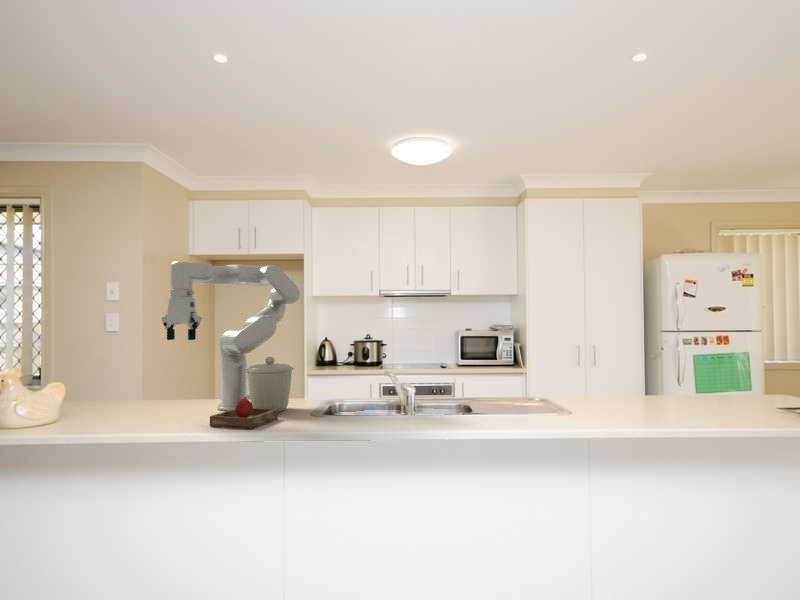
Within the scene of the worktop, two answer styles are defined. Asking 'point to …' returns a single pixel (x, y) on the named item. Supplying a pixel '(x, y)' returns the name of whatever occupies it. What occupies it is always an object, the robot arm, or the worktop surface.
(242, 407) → the onion
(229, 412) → the walnut tray
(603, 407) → the worktop surface
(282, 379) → the canister
